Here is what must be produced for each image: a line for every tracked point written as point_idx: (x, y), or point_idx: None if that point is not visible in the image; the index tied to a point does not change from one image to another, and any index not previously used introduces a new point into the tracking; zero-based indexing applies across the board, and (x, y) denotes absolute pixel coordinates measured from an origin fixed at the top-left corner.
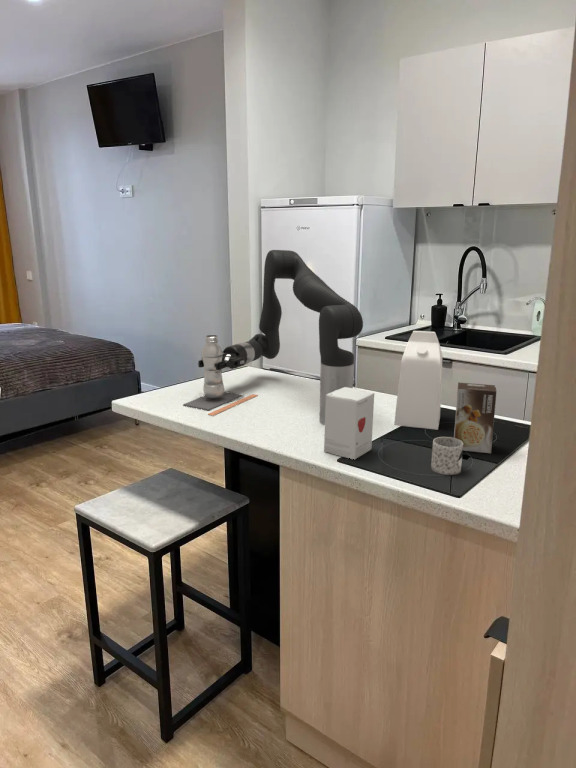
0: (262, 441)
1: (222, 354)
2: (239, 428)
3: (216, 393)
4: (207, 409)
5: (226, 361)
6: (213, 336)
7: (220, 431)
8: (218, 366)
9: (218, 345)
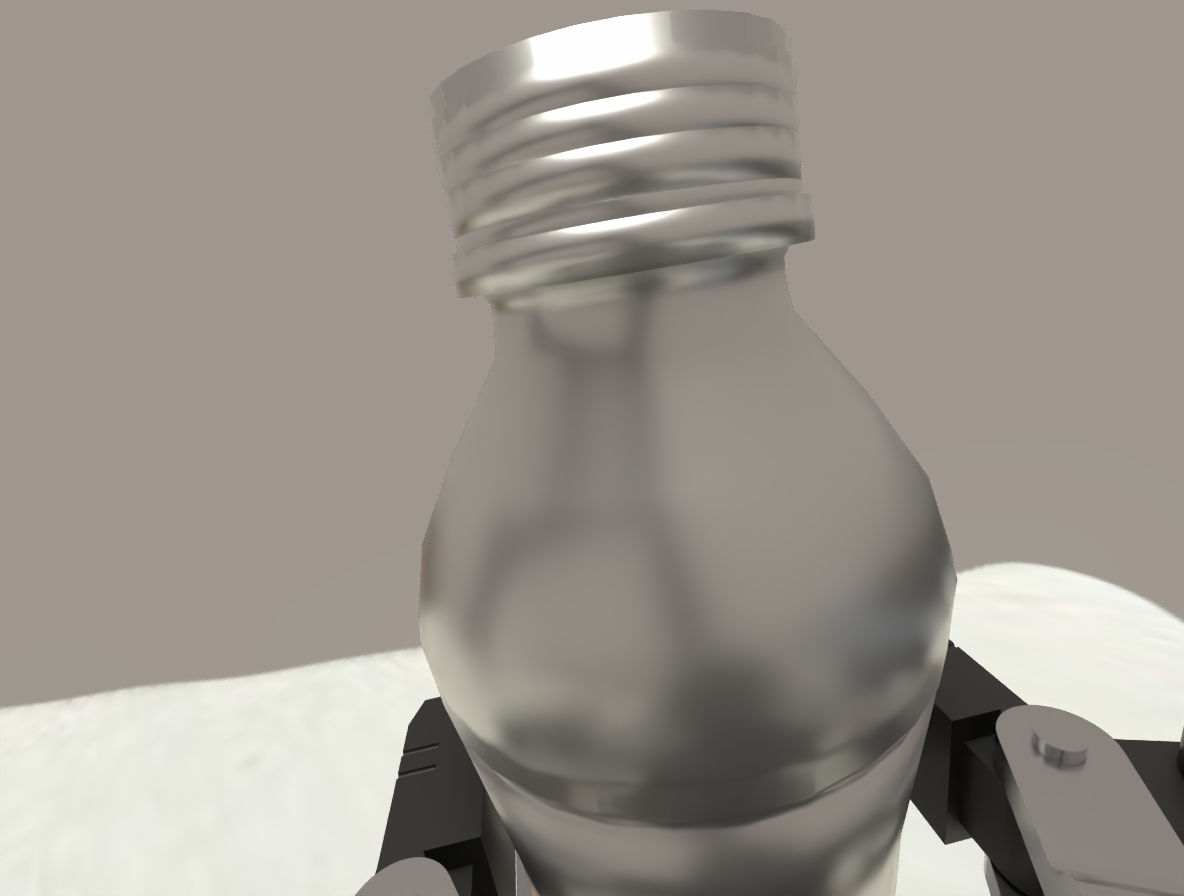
0: (6, 745)
1: (453, 717)
2: (162, 775)
3: None
4: None
5: (368, 893)
6: (708, 86)
7: (269, 691)
8: None
9: (491, 423)
